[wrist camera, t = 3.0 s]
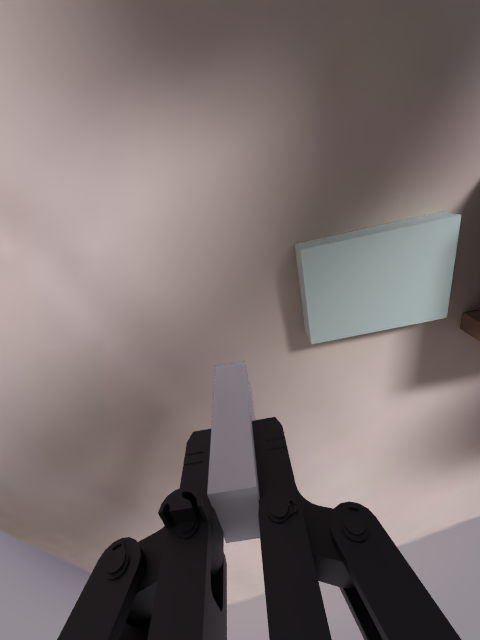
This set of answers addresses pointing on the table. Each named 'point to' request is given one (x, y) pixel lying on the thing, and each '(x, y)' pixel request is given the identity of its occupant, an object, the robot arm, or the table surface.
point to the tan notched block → (471, 323)
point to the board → (377, 277)
